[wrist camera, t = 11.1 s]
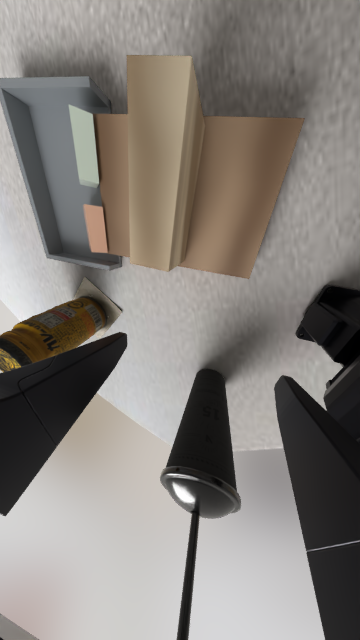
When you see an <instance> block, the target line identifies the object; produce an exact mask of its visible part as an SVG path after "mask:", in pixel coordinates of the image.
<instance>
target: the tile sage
mask: <svg viewBox="0 0 360 640" xmlns="http://www.w3.org/2000/svg"><path fill="white" fill-rule="evenodd" d="M68 105H69V104H68ZM69 112H70V119H71V126H72V133H73V140H74V147H75V154H76V160H77V167H78V174H79V181H80V185H85V186H89V187H93V188H97V187H98V185H99V176H98V166H97V155H96V144H95V134H94V123H93V114H91V113H89V112H86V111H84V110H81V109H79V108H77V107H74V106H72V105H69Z"/></svg>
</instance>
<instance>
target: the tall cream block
mask: <svg viewBox="0 0 360 640" xmlns="http://www.w3.org/2000/svg"><path fill="white" fill-rule="evenodd" d="M127 101H128V163H129V224H130V263H131V264H135V265H140V266H144V267H149V268H154V269H158V270H163V271H167V272H169V271H170V270H172V269H173V268H175V267H176V266H178V265H179V264H181V263H183V262H184V260H185V253H186V247H187V240H188V234H189V227H190V221H191V214H192V208H193V201H194V195H195V189H196V182H197V176H198V169H199V163H200V156H201V150H202V143H203V137H204V130H205V123H204V117H203V112H202V107H201V102H200V96H199V91H198V86H197V81H196V75H195V70H194V65H193V60H192V56H156V55H127Z"/></svg>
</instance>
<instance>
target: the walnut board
mask: <svg viewBox="0 0 360 640" xmlns="http://www.w3.org/2000/svg"><path fill="white" fill-rule="evenodd" d="M203 117H204V123H205V130H204V137H203V143H202V150H201V156H200V163H199V169H198V176H197V182H196V189H195V195H194V201H193V208H192V214H191V221H190V227H189V234H188V240H187V247H186V253H185V260H184V262H183V263H181V264H179V265H178V266H180V267H186V268H191V269H197V270H203V271H208V272H214V273H219V274H225V275H230V276H236V277H241V278H247V279H249V277H250V274H251V272H252V269H253V266H254V263H255V260H256V257H257V254H258V251H259V249H260V246H261V243H262V240H263V237H264V234H265V231H266V228H267V226H268V223H269V220H270V217H271V214H272V211H273V208H274V205H275V203H276V200H277V197H278V194H279V191H280V188H281V185H282V182H283V180H284V177H285V174H286V171H287V168H288V165H289V162H290V159H291V156H292V154H293V151H294V148H295V145H296V142H297V139H298V136H299V133H300V131H301V128H302V125H303V122H304V119H305V118H271V117H226V116H203ZM93 123H94V134H95V144H96V155H97V164H98V173H99V182H100V192H101V201H102V207H103V215H104V224H105V233H106V242H107V251H108V254H114V255H119V256H125V257H130V224H129V163H128V114H93Z"/></svg>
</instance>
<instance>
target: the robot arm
mask: <svg viewBox="0 0 360 640" xmlns="http://www.w3.org/2000/svg"><path fill="white" fill-rule="evenodd" d="M330 288H331V291H329V292H327V291H328V289H330ZM300 334H302V335H300ZM296 336H297V337H298V338H299V339H303V340H308V341H312V342H316V343H317V344H318V345H319V346H321V347H322V348H323V349H324V350H325V352H326V353H327V354H328V355H329V356H330V357H331V359H332V360H333V361H334V362H337V363H340V364H341V365H342V367H343V368H342V369H341V370H340V371H339V372H338V373H337V375H336V376H335V377H334V378H333V379H332V380H329V381H328V382H327V383H326V388H327V390H326V391H325V394H324V402H325V405H326V409H327V411H326V410H325V409H324V408H323V407H321V406H320V405H319V404H318V403H317V402H316V401H315V400H314V399H313V398H312V397H311V396H310V395H309V394H308V393H307V392H306V391H305V390H304V389H303V388H302V387H301V386H300V385H299V384H298V383H297V382H296V381H295V380H294V379H293V378H291V377H288V376H284V375H282V376H281V377H280V378H279V380H278V381H277V383H276V384H275V388H274V390H275V400H276V409H277V418H278V423H279V428H280V432H281V437H282V441H283V446H284V450H285V455H286V460H287V465H288V469H289V474H290V478H291V483H292V487H293V492H294V497H295V501H296V505H297V511H298V515H299V520H300V524H301V529H302V534H303V538H304V543H305V548H306V551H307V558H308V562H309V567H310V571H311V576H312V581H313V585H314V590H315V595H316V599H317V603H318V608H319V613H320V617H321V622H322V626H323V631H324V636H325V640H360V290H358V289H352V288H346V287H341V286H335V285H327V286H325V287H324V288H323V289H322V291H321V292H320V294H319V296H318V297H317V299H316V301H315V302H314V303H313V304H312V305H311V306H310V308H309V310H308V311H307V313H306V315H305V316H304V318H303V320H302V321H301V325H300V327H299V329H298V330H297V332H296ZM126 347H127V334H126V333H122V332H118V333H116V334H113V335H110V336H107V337H105V338H102V339H99V340H96V341H94V342H91V343H88V344H85V345H83V346H80V347H77V348H74V349H72V350H69V351H66V352H63V353H60V354H58V355H57V356H56V355H55V356H52V357H49V358H47V359H44V360H41V361H38V362H35V363H32V364H29V365H26V366H23V367H19V368H16V369H13V370H10V371H6V372H3V373H0V514H1V515H3V516H6V515H7V514H8V512H9V511H10V510H11V509H12V507H13V506H14V505H15V503H16V502H17V501H18V499H19V497H20V496H21V495H22V494H23V492H24V491H25V490H26V488H27V487H28V486H29V484H30V483H31V481H32V480H33V479H34V477H35V476H36V474H37V473H38V472H39V471H40V469H41V468H42V466H43V465H44V463H45V462H46V461H47V460H48V458H49V457H50V456H51V454H52V453H53V451H54V450H55V449H56V447H57V446H58V444H59V443H60V442H61V440H62V439H63V438H64V436H65V435H66V434H67V432H68V431H69V429H70V428H71V427H72V425H73V424H74V423H75V421H76V420H77V419H78V417H79V416H80V414H81V413H82V412H83V410H84V409H85V408H86V406H87V405H88V404H89V402H90V401H91V399H92V398H93V397H94V395H95V394H96V393H97V391H98V390H99V389H100V387H101V386H102V384H103V383H104V382H105V380H106V379H107V378H108V376H109V375H110V374H111V372H112V371H113V369H114V368H115V366H116V365H117V363H118V361H119V360H120V358H121V356H122V354H123V353H124V351H125V349H126ZM0 640H39V639H37V638H36V637H34V636H33V635H31V634H30V633H28V632H27V631H25V630H24V629H22V628H21V627H19V626H17V625H16V624H15V623H13V622H12V621H10V620H9V619H7V618H6V617H4V616H3V615H1V614H0Z"/></svg>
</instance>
